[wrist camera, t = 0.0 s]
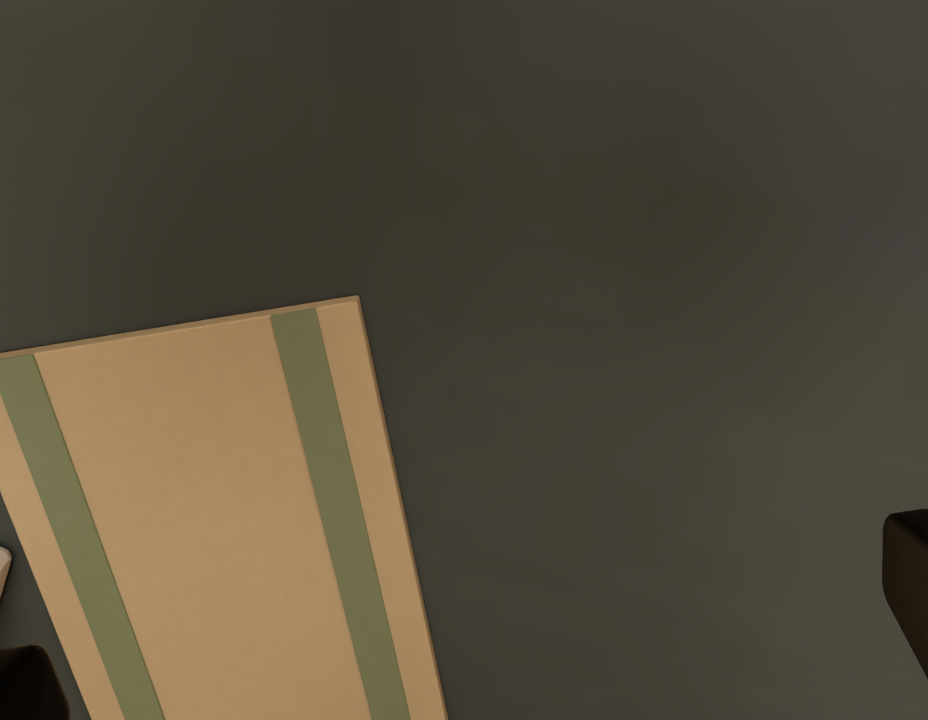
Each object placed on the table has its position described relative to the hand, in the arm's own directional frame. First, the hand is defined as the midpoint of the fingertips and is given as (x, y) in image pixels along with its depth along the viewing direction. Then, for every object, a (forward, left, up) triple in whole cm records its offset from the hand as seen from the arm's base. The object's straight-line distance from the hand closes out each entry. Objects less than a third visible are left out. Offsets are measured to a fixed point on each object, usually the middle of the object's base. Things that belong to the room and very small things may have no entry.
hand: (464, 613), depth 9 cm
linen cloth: (-10, +8, -15) cm, 20 cm away
